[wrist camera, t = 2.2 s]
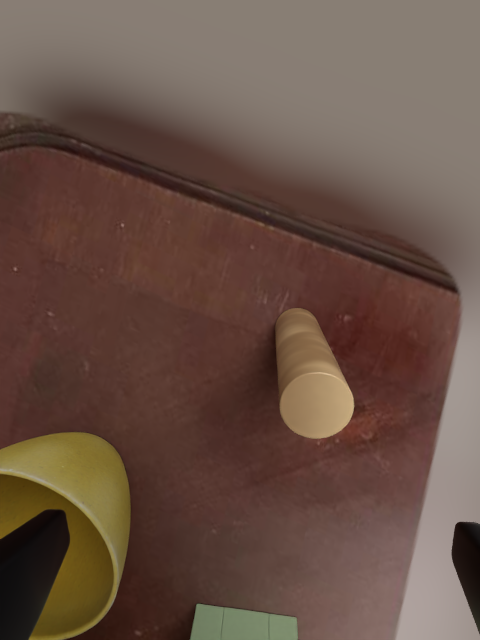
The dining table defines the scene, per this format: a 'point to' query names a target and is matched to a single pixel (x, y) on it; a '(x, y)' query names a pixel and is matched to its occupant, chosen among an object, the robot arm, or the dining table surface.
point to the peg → (309, 378)
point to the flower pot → (71, 521)
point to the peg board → (241, 625)
